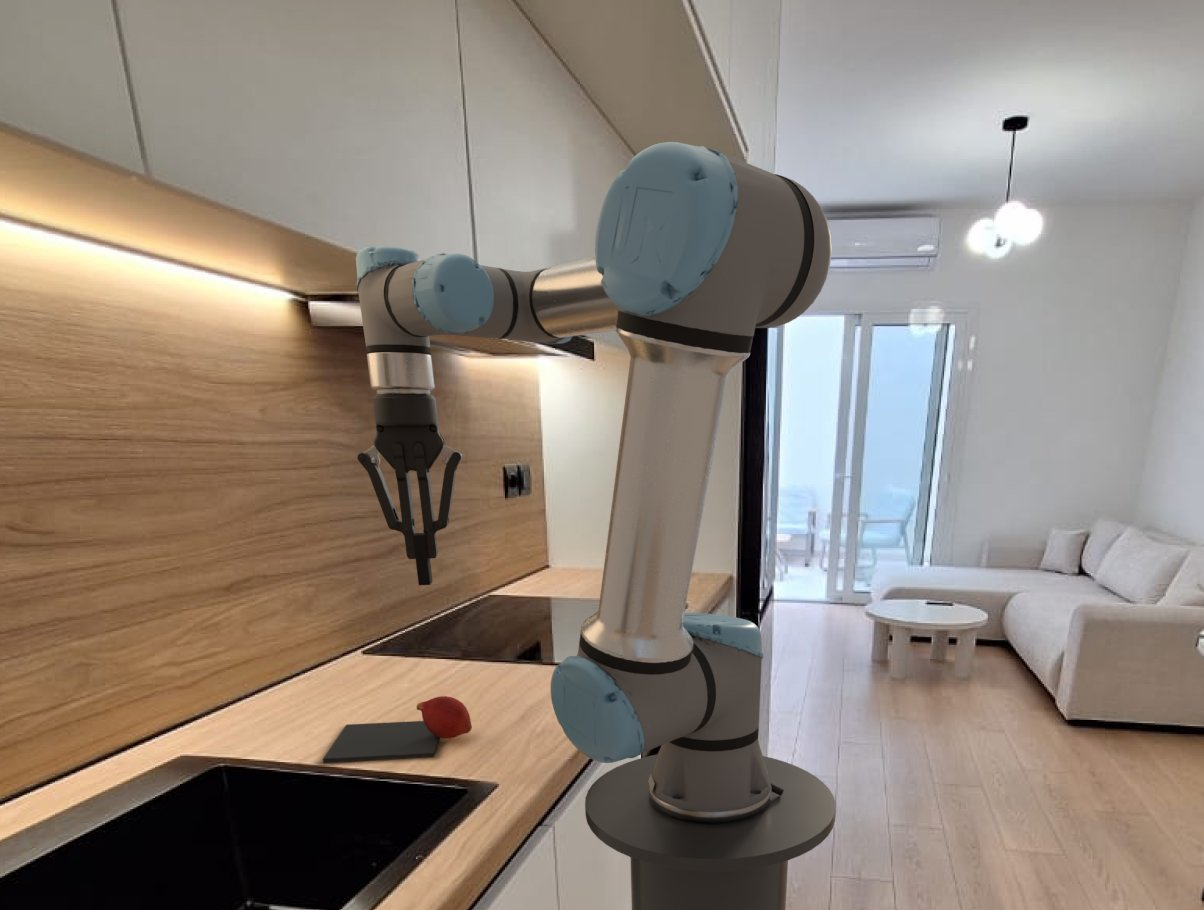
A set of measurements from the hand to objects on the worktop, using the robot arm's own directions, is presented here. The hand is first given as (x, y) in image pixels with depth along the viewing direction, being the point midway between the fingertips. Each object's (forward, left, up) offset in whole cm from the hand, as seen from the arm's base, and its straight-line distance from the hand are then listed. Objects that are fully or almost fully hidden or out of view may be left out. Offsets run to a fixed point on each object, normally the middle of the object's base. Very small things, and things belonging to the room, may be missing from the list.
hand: (425, 583), depth 109 cm
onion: (-5, +3, -20) cm, 21 cm away
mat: (+7, +3, -21) cm, 23 cm away
